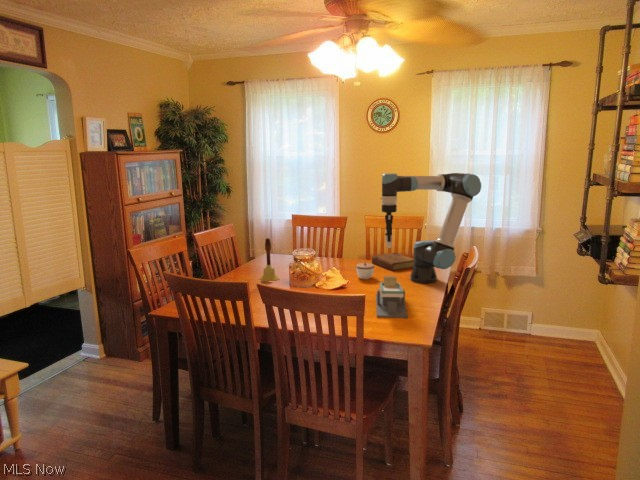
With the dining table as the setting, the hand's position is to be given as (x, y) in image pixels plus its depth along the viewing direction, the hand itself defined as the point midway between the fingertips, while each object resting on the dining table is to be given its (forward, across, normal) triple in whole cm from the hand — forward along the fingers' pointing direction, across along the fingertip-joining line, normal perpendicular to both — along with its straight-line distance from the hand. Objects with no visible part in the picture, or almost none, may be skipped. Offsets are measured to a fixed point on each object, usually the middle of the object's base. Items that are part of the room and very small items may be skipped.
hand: (388, 245), depth 237 cm
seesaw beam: (+20, +18, +1) cm, 27 cm away
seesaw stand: (+27, +18, +1) cm, 32 cm away
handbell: (+27, -24, -70) cm, 79 cm away
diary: (+27, -61, +5) cm, 67 cm away
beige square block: (+20, +9, +1) cm, 22 cm away
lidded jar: (+27, -31, -13) cm, 43 cm away
